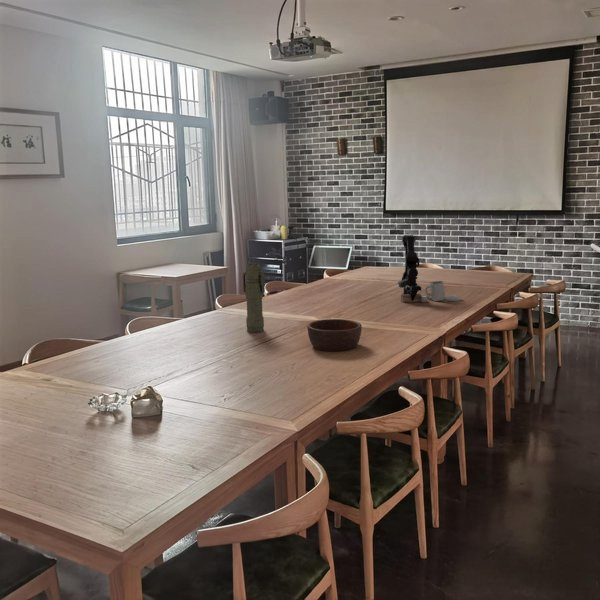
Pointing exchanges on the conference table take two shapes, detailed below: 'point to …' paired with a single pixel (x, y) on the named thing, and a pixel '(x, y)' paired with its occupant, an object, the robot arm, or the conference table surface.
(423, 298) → the panel
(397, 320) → the conference table surface
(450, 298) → the mat
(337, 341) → the wooden bowl
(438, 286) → the mug
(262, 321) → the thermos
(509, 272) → the conference table surface
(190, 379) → the conference table surface
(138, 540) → the conference table surface
